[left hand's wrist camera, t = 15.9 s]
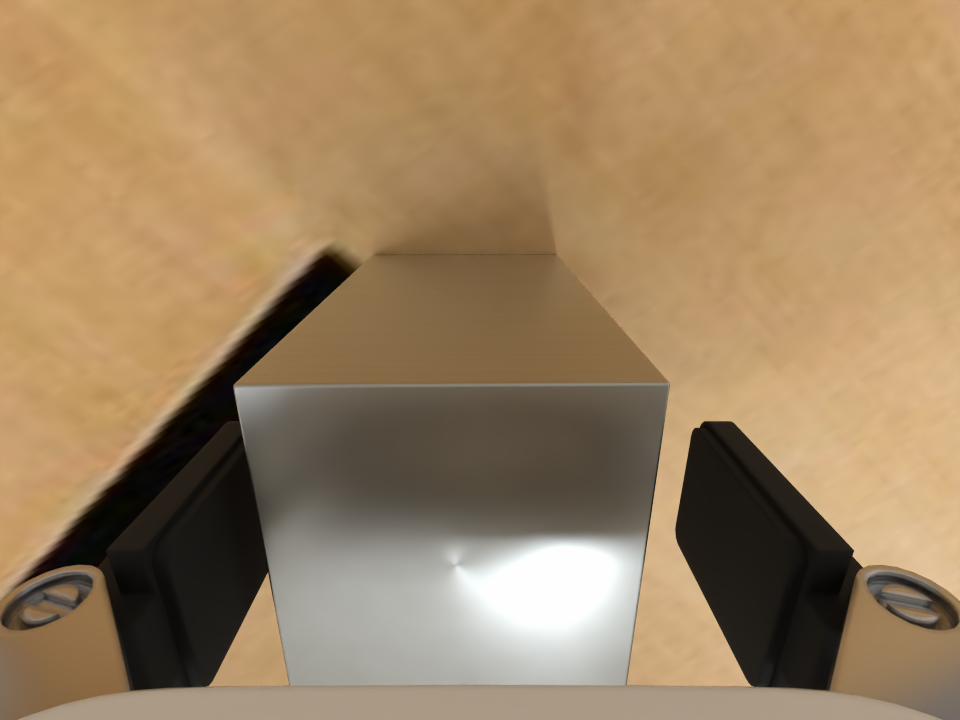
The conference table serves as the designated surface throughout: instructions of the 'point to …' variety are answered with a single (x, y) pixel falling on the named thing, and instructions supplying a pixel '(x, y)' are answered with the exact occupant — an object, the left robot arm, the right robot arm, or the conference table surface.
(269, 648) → the conference table surface
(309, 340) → the block
